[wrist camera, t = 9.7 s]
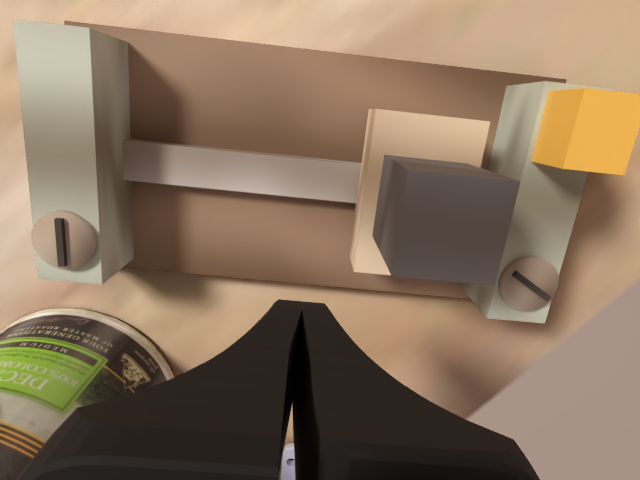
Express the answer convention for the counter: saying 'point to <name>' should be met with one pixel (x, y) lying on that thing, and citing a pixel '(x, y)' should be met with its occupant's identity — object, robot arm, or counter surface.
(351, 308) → the counter surface
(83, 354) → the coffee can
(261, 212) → the rail board
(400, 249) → the carriage
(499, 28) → the counter surface
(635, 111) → the button
